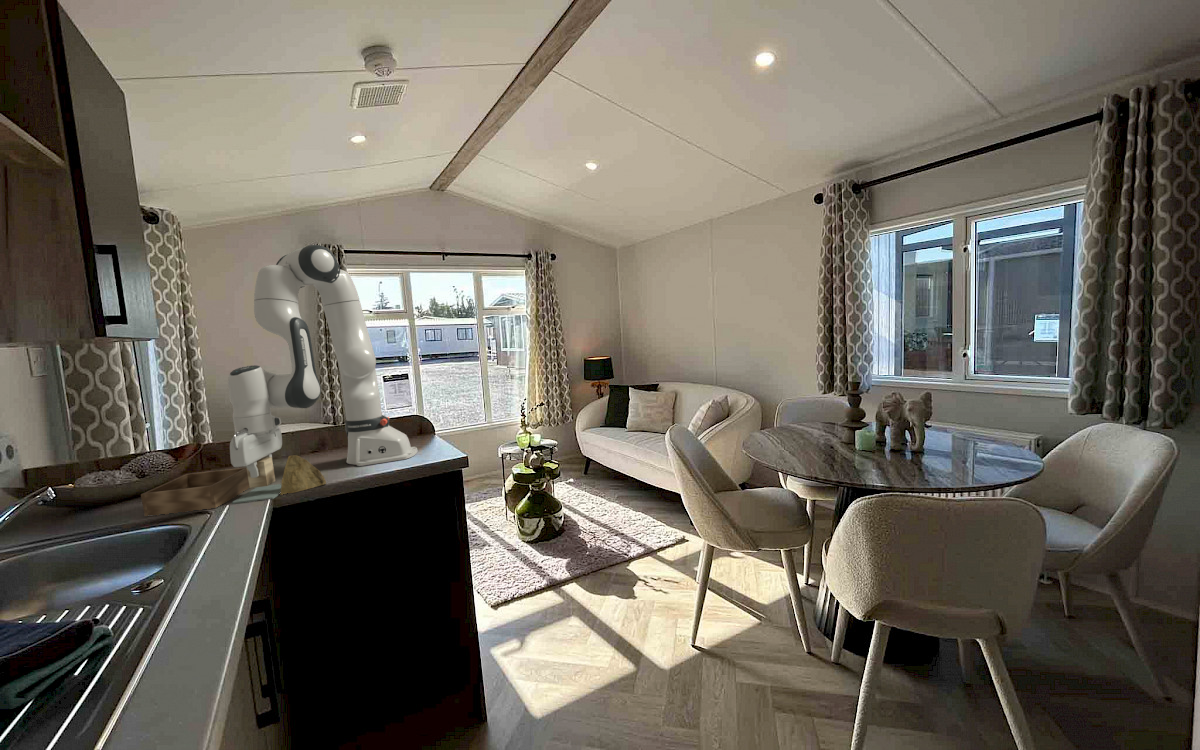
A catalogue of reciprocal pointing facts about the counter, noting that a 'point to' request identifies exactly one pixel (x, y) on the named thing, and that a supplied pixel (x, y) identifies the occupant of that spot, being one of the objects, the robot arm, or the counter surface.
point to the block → (263, 473)
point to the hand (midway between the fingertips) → (261, 473)
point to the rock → (300, 476)
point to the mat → (260, 494)
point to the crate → (195, 491)
